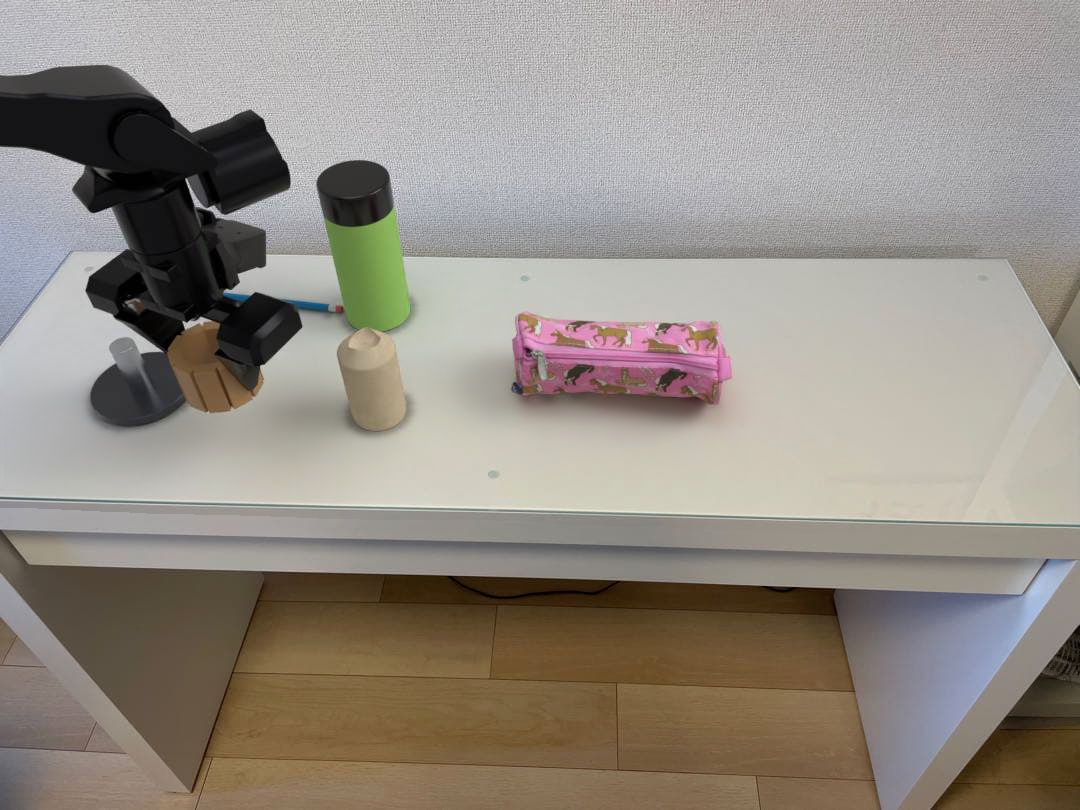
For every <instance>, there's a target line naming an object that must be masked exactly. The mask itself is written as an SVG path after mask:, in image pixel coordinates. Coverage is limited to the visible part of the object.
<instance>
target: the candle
mask: <svg viewBox="0 0 1080 810" xmlns="http://www.w3.org/2000/svg"><path fill="white" fill-rule="evenodd" d="M336 357H337V362H338V366H339V369H340V373H341V377H342V381H343V385H344V389H345V393H346V398H347V401H348V406H349V409H350V413H351V416H352V419H353V421H354V422H355V424H356V425H357V426H358V427H360V428H362V429H363V430H366V431H371V432H381V431H386V430H389V429H392V428H393V427H395V426H397V425H398V424H400V423H401V421H402V420H403V419H404V417H405V416H406V413H407V402H406V397H405V396H406V395H405V389H404V384H403V379H402V373H401V367H400V363H399V357H398V352H397V346H396V343H395V340H394V339H393V337H391V336H390V335H389V334H387V333H385V332H384V331H382V332H380V331H377V330H373V329H371V328H369V327H365V328H362V329H360V330H359V329H358V330H357V331H355V332H352V333H351V334H350V335H348V336H347V337H346V338H344V339H343V340H342V341H341V342H340V343H339V345H338V347H337V349H336Z"/></svg>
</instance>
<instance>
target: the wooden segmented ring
mask: <svg viewBox="0 0 1080 810" xmlns="http://www.w3.org/2000/svg"><path fill="white" fill-rule="evenodd" d="M219 326H220V323H217V322H214V321H211V320H207V321H203V322H202V324H201V323H200V322H198V323H197V324H194V325H192V326H190V327H188V328H187V329H186V328H185V330H184V331H182V332H181V335H177V336H176V338H175V339H174V341H173V342H172V343H171V345H170V346H169V348H168V352H167V354H168V357H169V361H170V364H171V367H172V369H173V371H174V374H175V376H176V378H177V380H178V383H179V385H180V387H181V389H182V391H183V394H184V396H185V398H186V403H187V404H188V405H189V407H191V408H193V409H196V410H197V411H200V412H202V413H204V414H207V413H208V412H209V414H216V413H217V414H218V413H226V412H227V413H228V412H232V408H233V410H238V409H239V408H241V407H242V406H244V405H246V404H248V403H249V402H251V401H253V397H257V395H258V394H259V392H260V390H261V389H262V387H263V385H264V381H265V378H264V375H263V372H262V369H261V368H260V373H259V380H258V385H257V386H256V387H255V388H254V389H253V390H252V391H251V392H250V391H247V390H246V389H245V388H244V387H243V386H242V385H241V384H240V383H239V382H238V381H237V380H236V379H235V378H234V377H233V375H232V374H231V373H230V372H229V371H228V370H227V369H226V368H225V367H224V365H223V364H222V363H221V362H220V361H219V360H218V359H217V358H216V357H215V356H214V353H215V352H216V351H217V350H218V349H219V348H220V347H219V345H218V342H217V339H216V337H217V333H218V329H219Z"/></svg>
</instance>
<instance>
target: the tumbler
mask: <svg viewBox="0 0 1080 810" xmlns="http://www.w3.org/2000/svg"><path fill="white" fill-rule="evenodd" d="M315 185H316V190H317V196H318V199H319V203H320V208H321V213H322V216H323V220H324V226H325V230H326V234H327V239H328V242H329V247H330V251H331V256H332V260H333V264H334V268H335V274H336V277H337V281H338V286H339V291H340V296H341V299H342V303H343V309H344V312H345V316H346V319H347V321H348V323H349V325H351V326H352V327H353V328H354V329H357V330H358V331H359V330H360V329H362V328H365V327H369V328H371V329H373V330H377V331H380V332H386V331H387V332H388V331H390V330H393V329H396V328H397V327H398V326H400V325H402V324H403V323H404V322H405V321H406V320H407V319H408V317H409V315H410V313H411V302H410V294H409V288H408V282H407V277H406V276H407V275H406V269H405V264H404V263H405V262H404V258H403V256H404V255H403V250H402V245H401V239H400V231H399V227H398V225H399V224H398V219H397V213H396V206H395V200H394V195H393V187H392V182H391V176H390V171H388V169H387V168H386V167H385V166H384V165H382V164H380V163H379V162H378V163H377V162H375V161H373V160H364V159H353V160H345V161H341V162H337V163H335V164H333V165H331V166H329V167H327V168H325V169H324V170H323V171H322V172H321V173H320V174H319V175H318V177H317V179H316V182H315Z"/></svg>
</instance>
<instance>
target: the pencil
mask: <svg viewBox="0 0 1080 810" xmlns="http://www.w3.org/2000/svg"><path fill="white" fill-rule="evenodd" d="M223 293H224V296H226V297H229V298H232V299H235V300H238V301H241V302H244V301H245V300H247V299H248V298H249V297H250V296H251V294H250V295H249V294H241V293H231V292H225V291H224V292H223ZM280 299H281V300H284V301H287V302H290V303H293V304H296V305H297V307H298V309H305V310H314V311H322V312H333V313H340V314H342V313H343V312H344V305H340V304H339V305H338V304H329V303H322V302H321V303H320V302H313V301H311V302H310V301H303V300H294V299H285V298H280Z"/></svg>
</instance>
